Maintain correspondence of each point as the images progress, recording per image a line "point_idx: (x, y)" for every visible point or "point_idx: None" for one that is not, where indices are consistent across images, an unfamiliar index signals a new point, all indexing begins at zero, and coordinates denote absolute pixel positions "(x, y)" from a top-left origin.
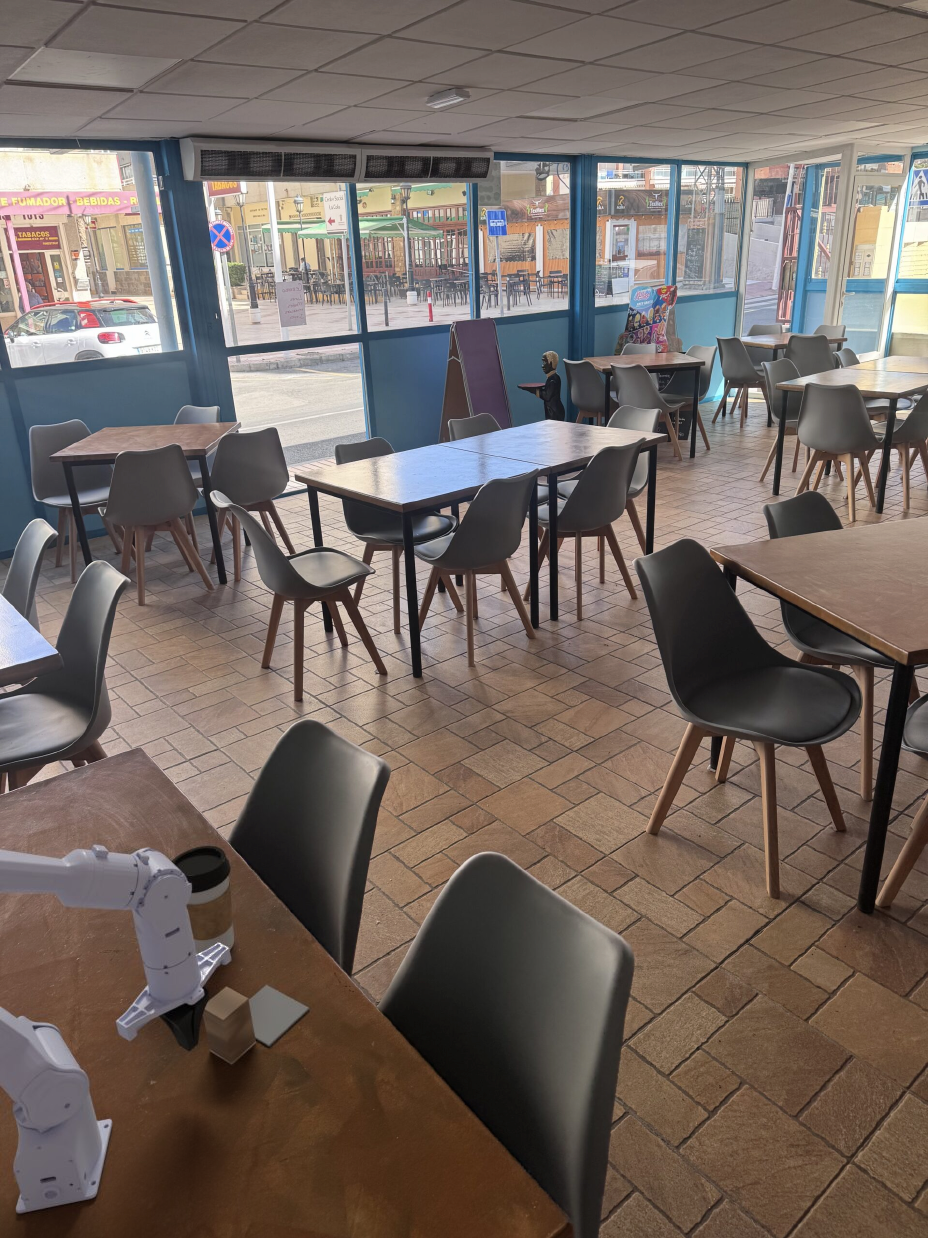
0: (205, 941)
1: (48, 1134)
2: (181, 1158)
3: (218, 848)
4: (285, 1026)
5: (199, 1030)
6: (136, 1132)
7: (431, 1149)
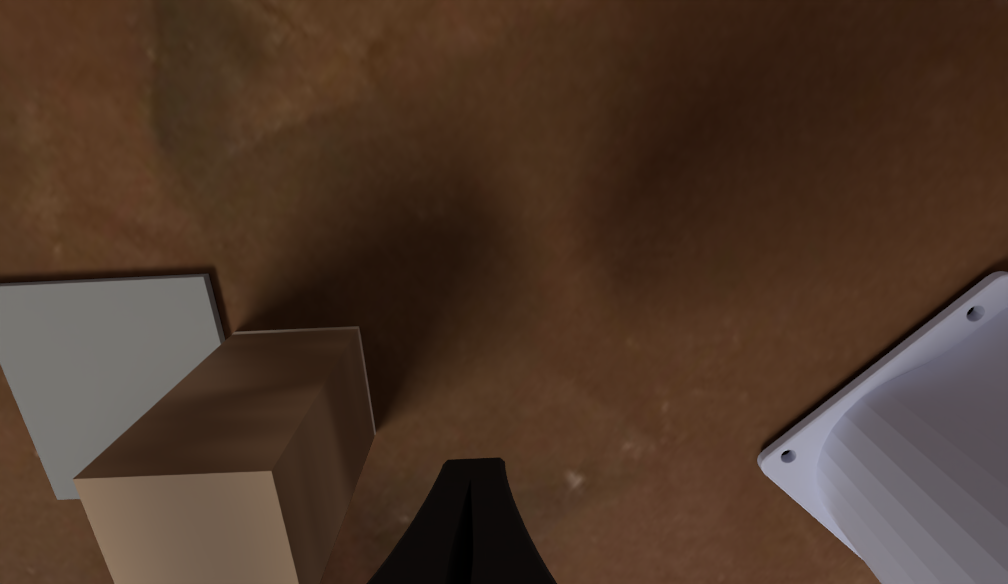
0: None
1: None
2: (743, 145)
3: None
4: (98, 293)
5: (420, 513)
6: (740, 367)
7: None
